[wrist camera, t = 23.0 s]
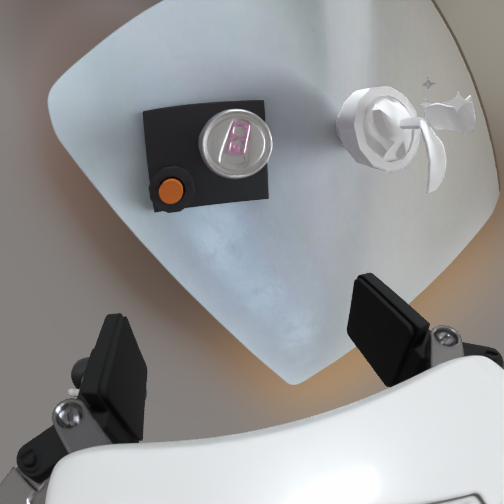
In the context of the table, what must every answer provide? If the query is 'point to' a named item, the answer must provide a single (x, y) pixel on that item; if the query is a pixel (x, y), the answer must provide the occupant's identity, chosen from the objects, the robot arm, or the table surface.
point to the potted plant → (400, 129)
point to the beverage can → (235, 143)
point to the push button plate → (194, 157)
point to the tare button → (171, 191)
